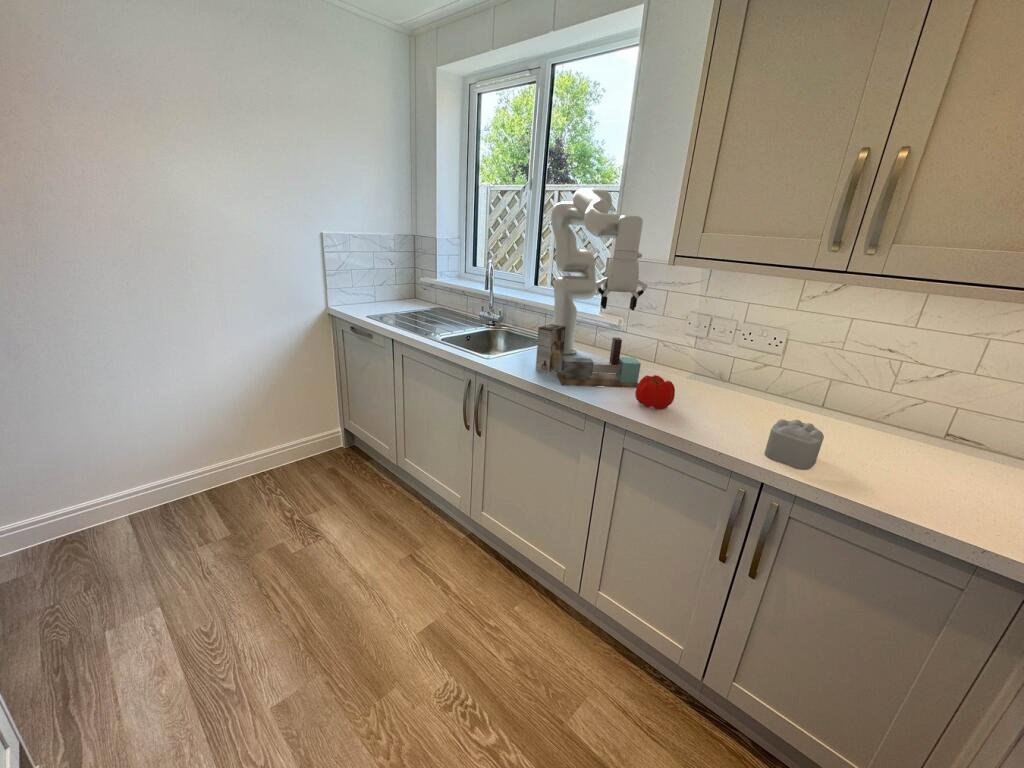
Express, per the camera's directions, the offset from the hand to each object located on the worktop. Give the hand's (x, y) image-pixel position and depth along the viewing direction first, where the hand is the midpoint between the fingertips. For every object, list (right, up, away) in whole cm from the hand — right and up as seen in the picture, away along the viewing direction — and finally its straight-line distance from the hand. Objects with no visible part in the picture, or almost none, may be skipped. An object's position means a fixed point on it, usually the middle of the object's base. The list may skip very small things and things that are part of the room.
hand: (617, 308), depth 150 cm
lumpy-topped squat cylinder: (+34, -44, -39) cm, 68 cm away
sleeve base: (-6, -24, +7) cm, 26 cm away
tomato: (+8, -32, -13) cm, 36 cm away
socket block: (+5, -25, +8) cm, 26 cm away
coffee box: (-22, -20, +17) cm, 34 cm away
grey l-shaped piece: (-2, -21, +6) cm, 22 cm away
